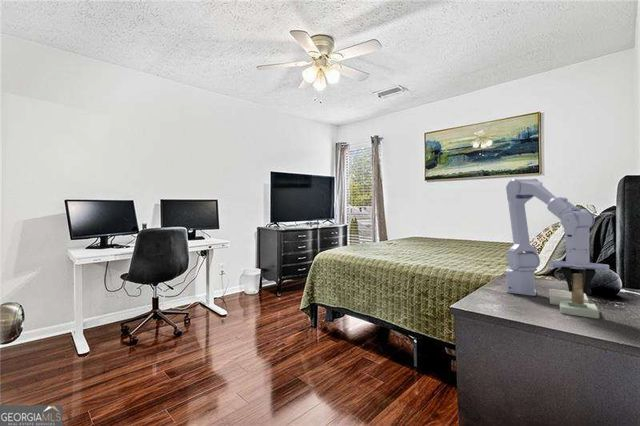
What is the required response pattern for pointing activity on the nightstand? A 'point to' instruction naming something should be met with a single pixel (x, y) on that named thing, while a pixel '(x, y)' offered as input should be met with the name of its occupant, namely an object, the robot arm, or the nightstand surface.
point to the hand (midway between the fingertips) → (577, 292)
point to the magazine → (583, 274)
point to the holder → (578, 309)
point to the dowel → (577, 288)
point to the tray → (562, 296)
